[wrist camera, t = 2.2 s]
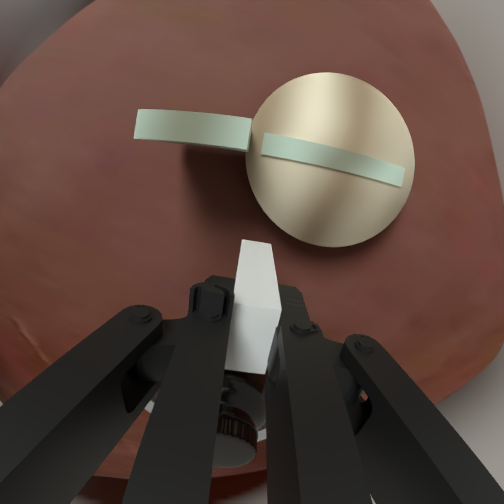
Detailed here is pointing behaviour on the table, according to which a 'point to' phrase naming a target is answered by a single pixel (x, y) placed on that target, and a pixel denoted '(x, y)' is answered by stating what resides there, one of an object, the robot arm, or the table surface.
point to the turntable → (311, 155)
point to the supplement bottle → (239, 418)
